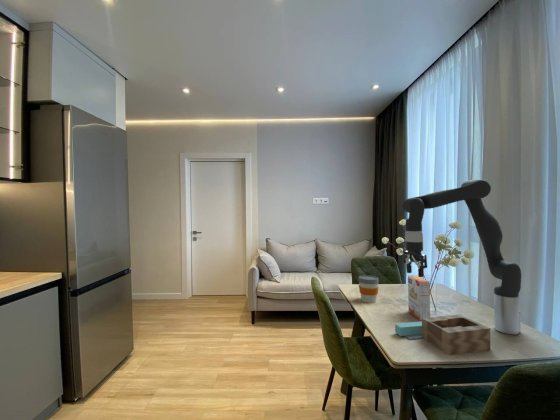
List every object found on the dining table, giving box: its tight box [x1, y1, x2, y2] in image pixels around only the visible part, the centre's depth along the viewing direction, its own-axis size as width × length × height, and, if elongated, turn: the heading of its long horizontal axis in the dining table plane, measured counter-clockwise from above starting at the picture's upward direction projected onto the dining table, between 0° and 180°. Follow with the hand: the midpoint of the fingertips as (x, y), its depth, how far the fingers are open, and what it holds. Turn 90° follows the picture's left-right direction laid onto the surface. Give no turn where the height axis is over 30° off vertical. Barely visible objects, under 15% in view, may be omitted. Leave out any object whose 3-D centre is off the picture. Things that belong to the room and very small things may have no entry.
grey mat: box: [404, 334, 424, 341], centre depth 135 cm, size 10×10×1 cm
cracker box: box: [407, 274, 431, 321], centre depth 158 cm, size 14×6×21 cm, turn 179°
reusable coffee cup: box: [358, 274, 380, 304], centre depth 185 cm, size 12×12×15 cm
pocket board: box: [421, 314, 491, 356], centre depth 125 cm, size 20×16×9 cm
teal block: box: [394, 321, 422, 337], centre depth 135 cm, size 14×4×4 cm, turn 99°
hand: (414, 274), depth 135 cm, fingers open, 8 cm apart
